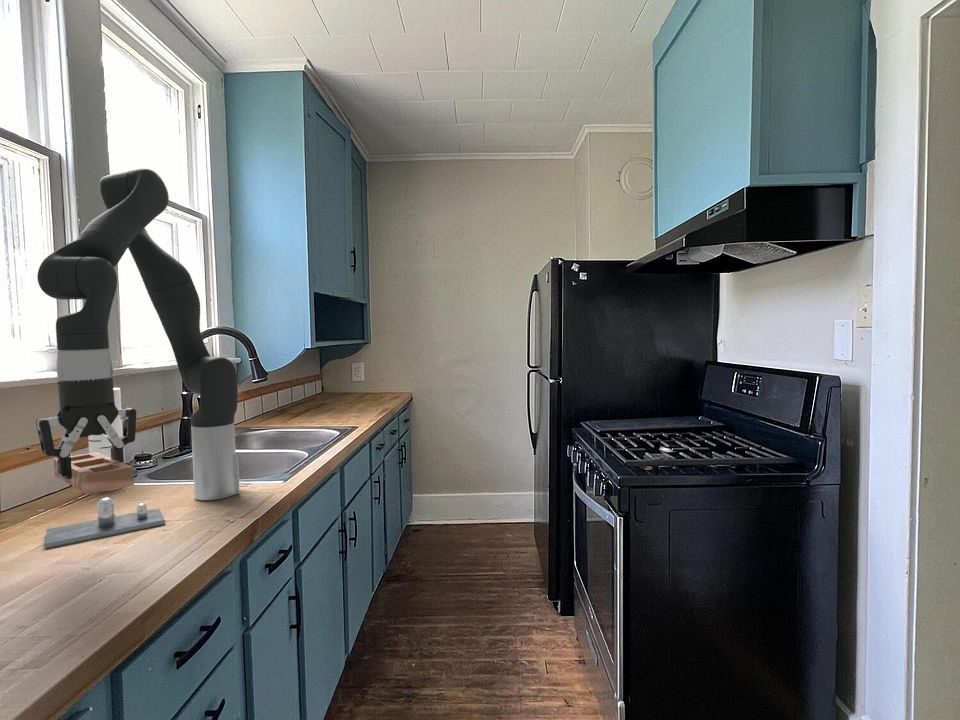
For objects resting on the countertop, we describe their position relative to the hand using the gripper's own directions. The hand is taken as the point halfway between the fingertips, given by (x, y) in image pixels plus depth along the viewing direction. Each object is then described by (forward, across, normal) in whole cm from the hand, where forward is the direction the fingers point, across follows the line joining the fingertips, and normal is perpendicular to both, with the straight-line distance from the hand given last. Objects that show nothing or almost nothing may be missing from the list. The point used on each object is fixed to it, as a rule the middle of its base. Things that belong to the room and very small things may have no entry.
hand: (92, 473), depth 91 cm
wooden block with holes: (+1, 0, 0) cm, 1 cm away
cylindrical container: (+16, -16, -49) cm, 54 cm away
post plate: (+15, -6, -16) cm, 23 cm away
